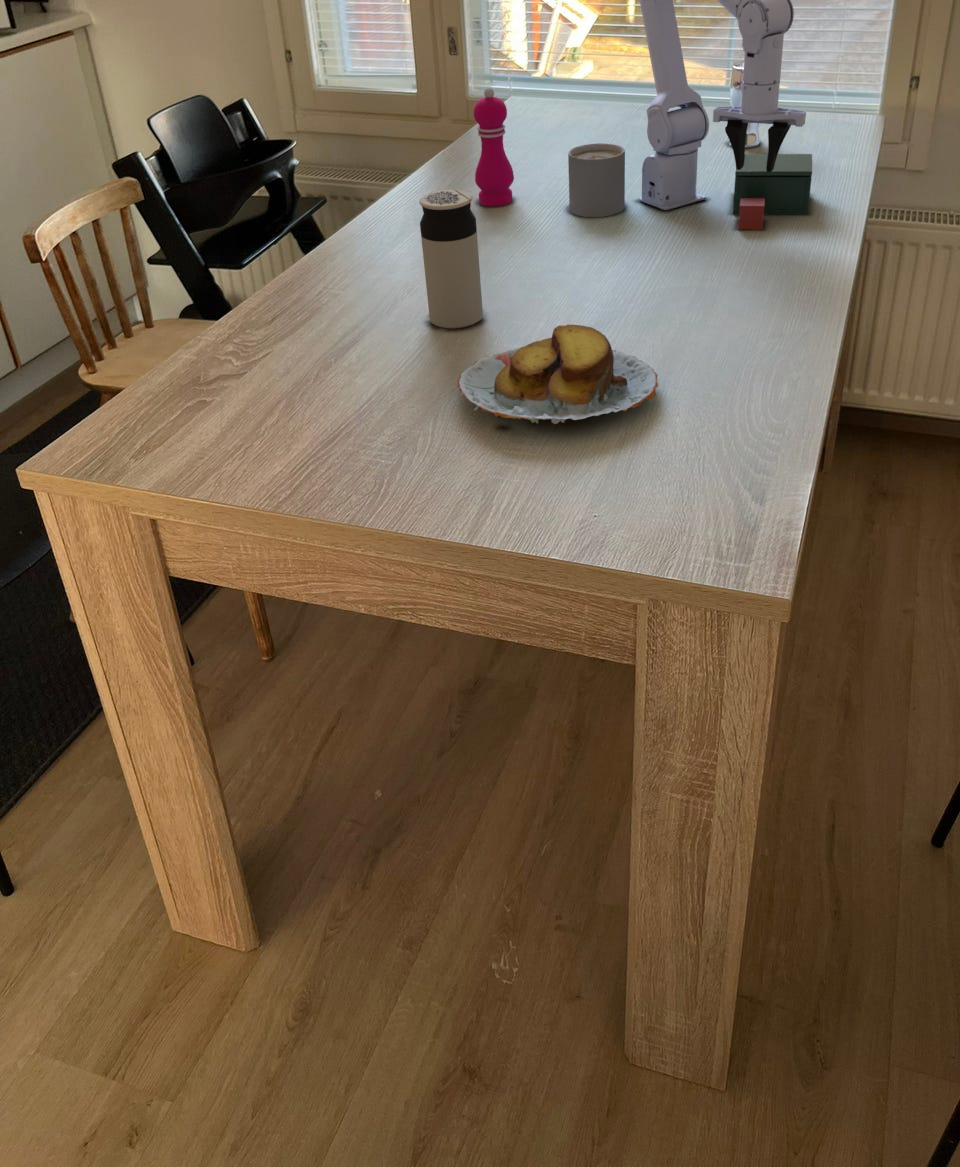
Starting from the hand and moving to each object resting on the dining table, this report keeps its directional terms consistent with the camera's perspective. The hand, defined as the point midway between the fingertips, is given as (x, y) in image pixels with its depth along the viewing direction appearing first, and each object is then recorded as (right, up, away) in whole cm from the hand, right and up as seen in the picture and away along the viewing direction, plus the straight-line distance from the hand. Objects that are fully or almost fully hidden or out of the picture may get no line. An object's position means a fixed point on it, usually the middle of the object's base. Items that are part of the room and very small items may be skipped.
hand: (754, 169), depth 185 cm
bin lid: (+6, +4, +9) cm, 11 cm away
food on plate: (-35, -44, -40) cm, 69 cm away
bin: (+6, -1, +13) cm, 15 cm away
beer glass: (+9, +21, +44) cm, 50 cm away
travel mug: (-49, -29, -18) cm, 60 cm away
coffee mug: (-24, 0, +20) cm, 31 cm away
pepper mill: (-42, +3, +26) cm, 50 cm away
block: (+1, -8, +6) cm, 9 cm away
